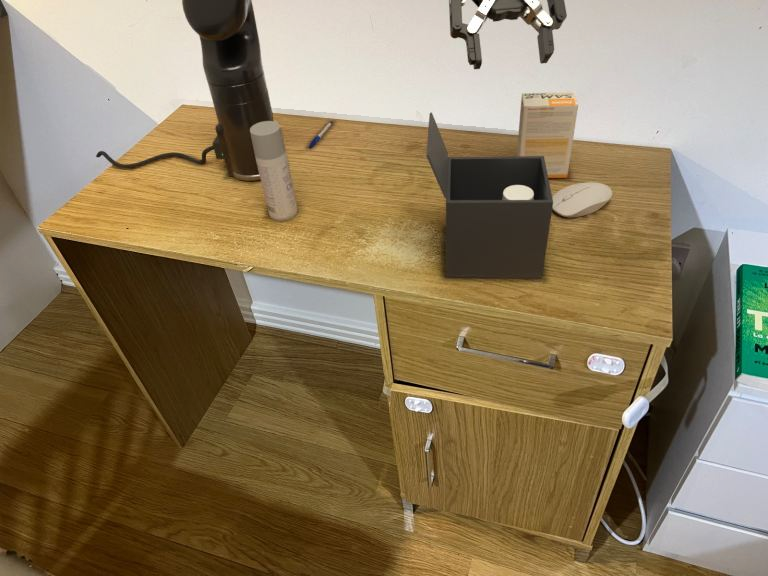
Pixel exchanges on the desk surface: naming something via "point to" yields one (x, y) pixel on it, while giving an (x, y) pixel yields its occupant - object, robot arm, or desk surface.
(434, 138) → the flap
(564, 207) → the computer mouse
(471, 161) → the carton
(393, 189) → the desk surface
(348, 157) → the desk surface
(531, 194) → the supplement bottle
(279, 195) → the container
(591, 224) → the desk surface
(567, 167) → the supplement box
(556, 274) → the desk surface
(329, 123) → the ballpoint pen
